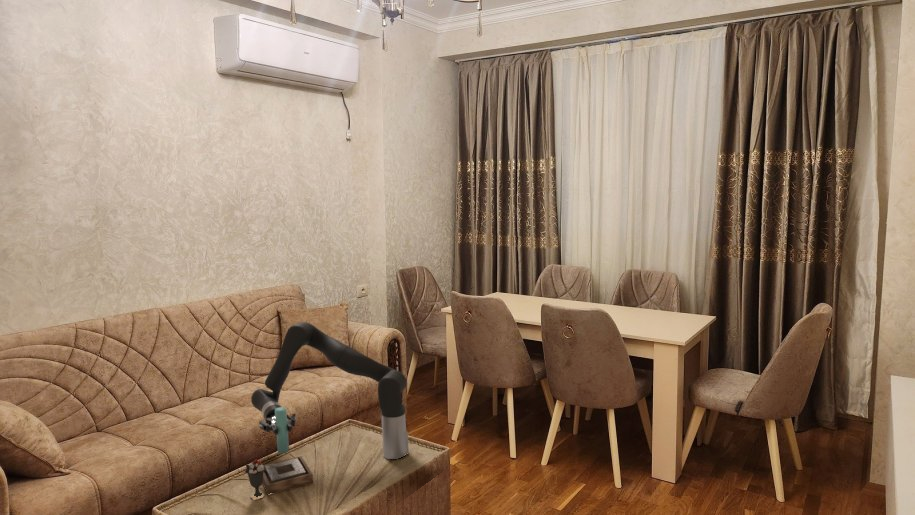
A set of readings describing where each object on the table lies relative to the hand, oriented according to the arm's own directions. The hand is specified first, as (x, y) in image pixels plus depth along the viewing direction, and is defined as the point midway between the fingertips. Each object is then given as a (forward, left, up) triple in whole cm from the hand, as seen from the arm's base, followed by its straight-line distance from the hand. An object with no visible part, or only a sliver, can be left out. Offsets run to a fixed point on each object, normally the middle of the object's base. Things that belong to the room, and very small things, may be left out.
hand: (283, 430), depth 225 cm
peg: (0, -3, -9) cm, 9 cm away
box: (0, -3, -20) cm, 20 cm away
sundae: (+11, +4, -20) cm, 24 cm away
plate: (0, -3, -20) cm, 20 cm away
